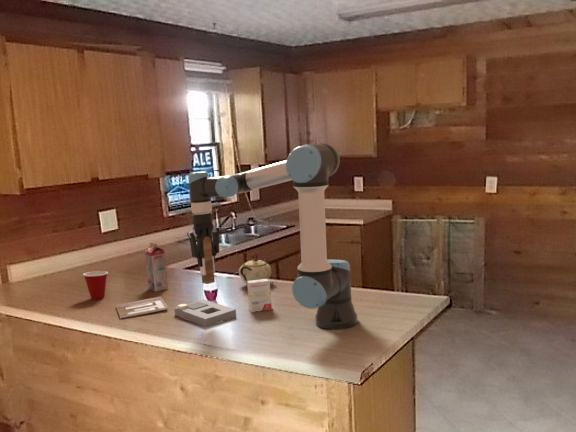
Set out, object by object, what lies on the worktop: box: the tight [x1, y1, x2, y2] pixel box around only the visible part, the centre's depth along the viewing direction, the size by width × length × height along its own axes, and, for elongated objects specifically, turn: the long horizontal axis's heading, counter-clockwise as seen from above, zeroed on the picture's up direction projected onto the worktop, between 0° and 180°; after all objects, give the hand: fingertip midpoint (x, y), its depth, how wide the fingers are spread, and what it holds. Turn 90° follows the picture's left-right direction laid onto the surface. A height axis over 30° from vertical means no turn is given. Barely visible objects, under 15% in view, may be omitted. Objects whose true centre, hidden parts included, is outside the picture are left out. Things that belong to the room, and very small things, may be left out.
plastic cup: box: [82, 270, 109, 301], centre depth 259 cm, size 11×11×12 cm
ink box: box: [246, 278, 273, 313], centre depth 227 cm, size 9×5×12 cm, turn 103°
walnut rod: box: [201, 236, 216, 285], centre depth 217 cm, size 3×3×18 cm
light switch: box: [116, 296, 169, 320], centre depth 238 cm, size 18×2×19 cm
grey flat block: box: [174, 299, 237, 328], centre depth 223 cm, size 22×14×4 cm, turn 42°
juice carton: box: [144, 242, 169, 293], centre depth 267 cm, size 7×7×22 cm
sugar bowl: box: [238, 252, 272, 286], centre depth 263 cm, size 20×15×15 cm
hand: (207, 273), depth 218 cm, fingers closed on walnut rod, 3 cm apart
